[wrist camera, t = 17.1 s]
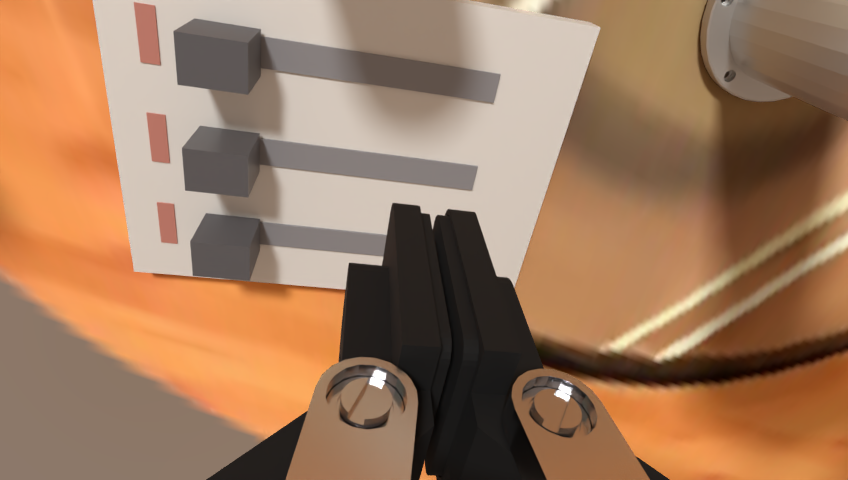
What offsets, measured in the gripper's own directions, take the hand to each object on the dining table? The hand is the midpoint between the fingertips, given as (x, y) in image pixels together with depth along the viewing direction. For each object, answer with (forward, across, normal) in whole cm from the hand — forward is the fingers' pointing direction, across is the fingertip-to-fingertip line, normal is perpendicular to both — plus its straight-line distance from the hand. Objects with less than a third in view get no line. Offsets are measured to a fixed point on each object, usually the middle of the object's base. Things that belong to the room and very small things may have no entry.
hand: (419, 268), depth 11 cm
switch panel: (+29, +2, +10) cm, 31 cm away
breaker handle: (+27, +10, +10) cm, 30 cm away
